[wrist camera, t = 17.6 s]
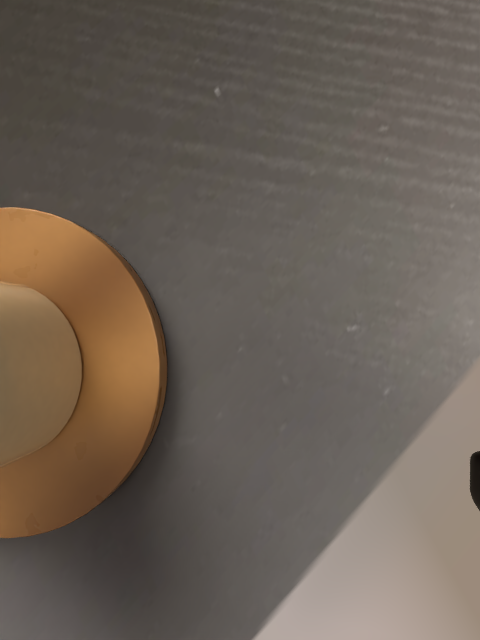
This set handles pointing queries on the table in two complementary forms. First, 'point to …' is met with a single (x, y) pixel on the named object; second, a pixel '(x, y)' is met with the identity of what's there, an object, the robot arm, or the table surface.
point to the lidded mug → (34, 371)
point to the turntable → (84, 371)
